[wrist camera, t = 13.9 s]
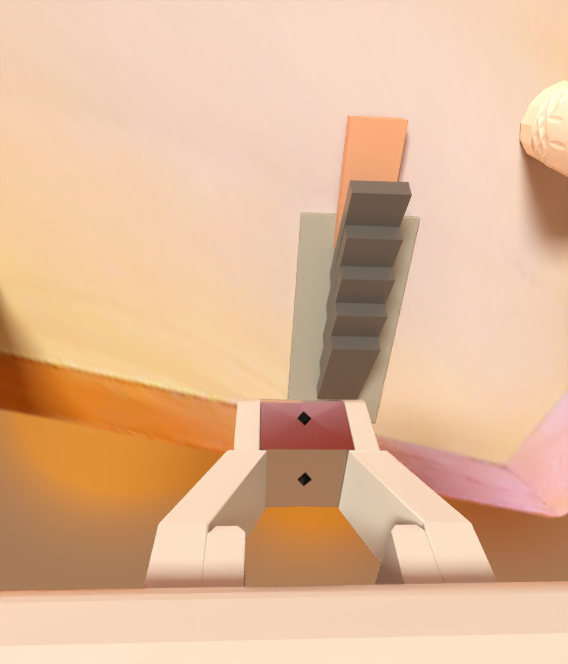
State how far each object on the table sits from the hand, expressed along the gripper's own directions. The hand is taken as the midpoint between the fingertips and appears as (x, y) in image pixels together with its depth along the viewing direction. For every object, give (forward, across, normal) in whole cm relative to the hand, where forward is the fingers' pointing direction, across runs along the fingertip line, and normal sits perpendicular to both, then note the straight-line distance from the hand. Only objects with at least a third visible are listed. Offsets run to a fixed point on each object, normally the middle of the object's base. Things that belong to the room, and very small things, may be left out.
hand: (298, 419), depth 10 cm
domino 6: (+34, +9, -28) cm, 45 cm away
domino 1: (+34, +9, -8) cm, 36 cm away
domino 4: (+34, +9, -20) cm, 40 cm away
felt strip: (+35, +9, -19) cm, 41 cm away
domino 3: (+34, +9, -16) cm, 38 cm away
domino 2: (+34, +9, -12) cm, 37 cm away
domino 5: (+34, +9, -24) cm, 42 cm away
